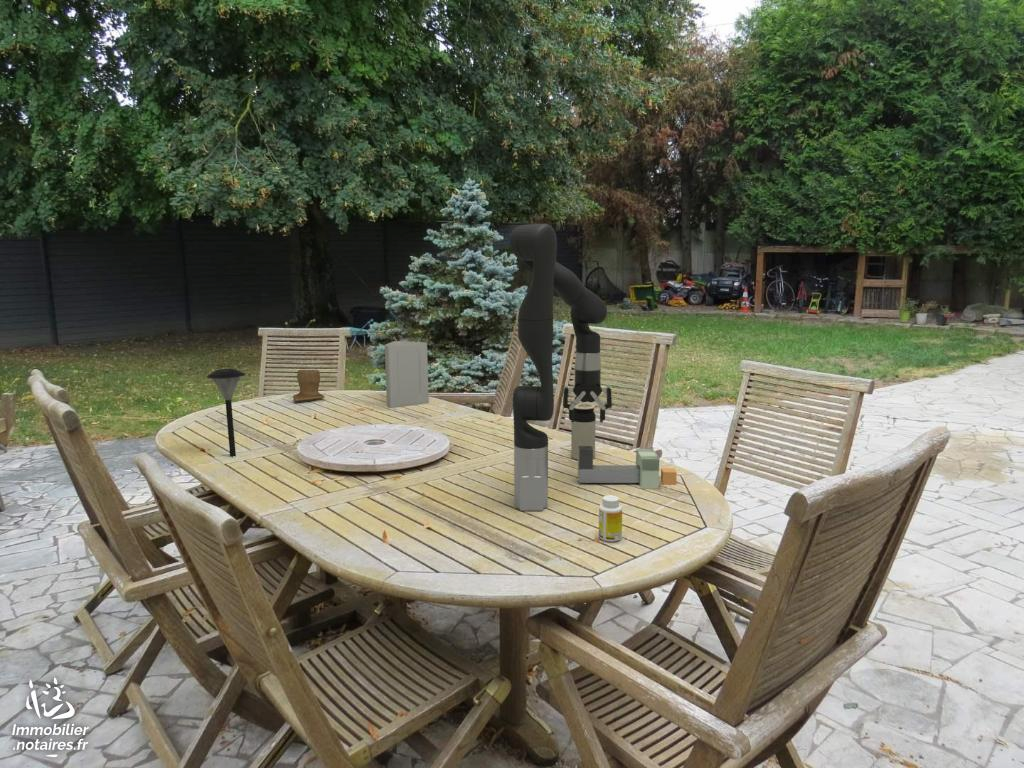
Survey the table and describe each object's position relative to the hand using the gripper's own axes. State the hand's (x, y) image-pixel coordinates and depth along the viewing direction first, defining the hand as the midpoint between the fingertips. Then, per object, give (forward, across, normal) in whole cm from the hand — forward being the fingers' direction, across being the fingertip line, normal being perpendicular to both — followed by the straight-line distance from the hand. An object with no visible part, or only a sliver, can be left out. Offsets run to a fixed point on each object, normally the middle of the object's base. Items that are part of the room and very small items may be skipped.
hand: (586, 421), depth 203 cm
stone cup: (+17, -123, +118) cm, 171 cm away
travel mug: (+18, +1, +27) cm, 32 cm away
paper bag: (+17, -76, +113) cm, 137 cm away
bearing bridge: (+19, +18, +1) cm, 26 cm away
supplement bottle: (+20, +3, -40) cm, 45 cm away
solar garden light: (+19, -119, +26) cm, 123 cm away
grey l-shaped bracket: (+18, +9, +1) cm, 20 cm away
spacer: (+17, +23, +1) cm, 28 cm away
